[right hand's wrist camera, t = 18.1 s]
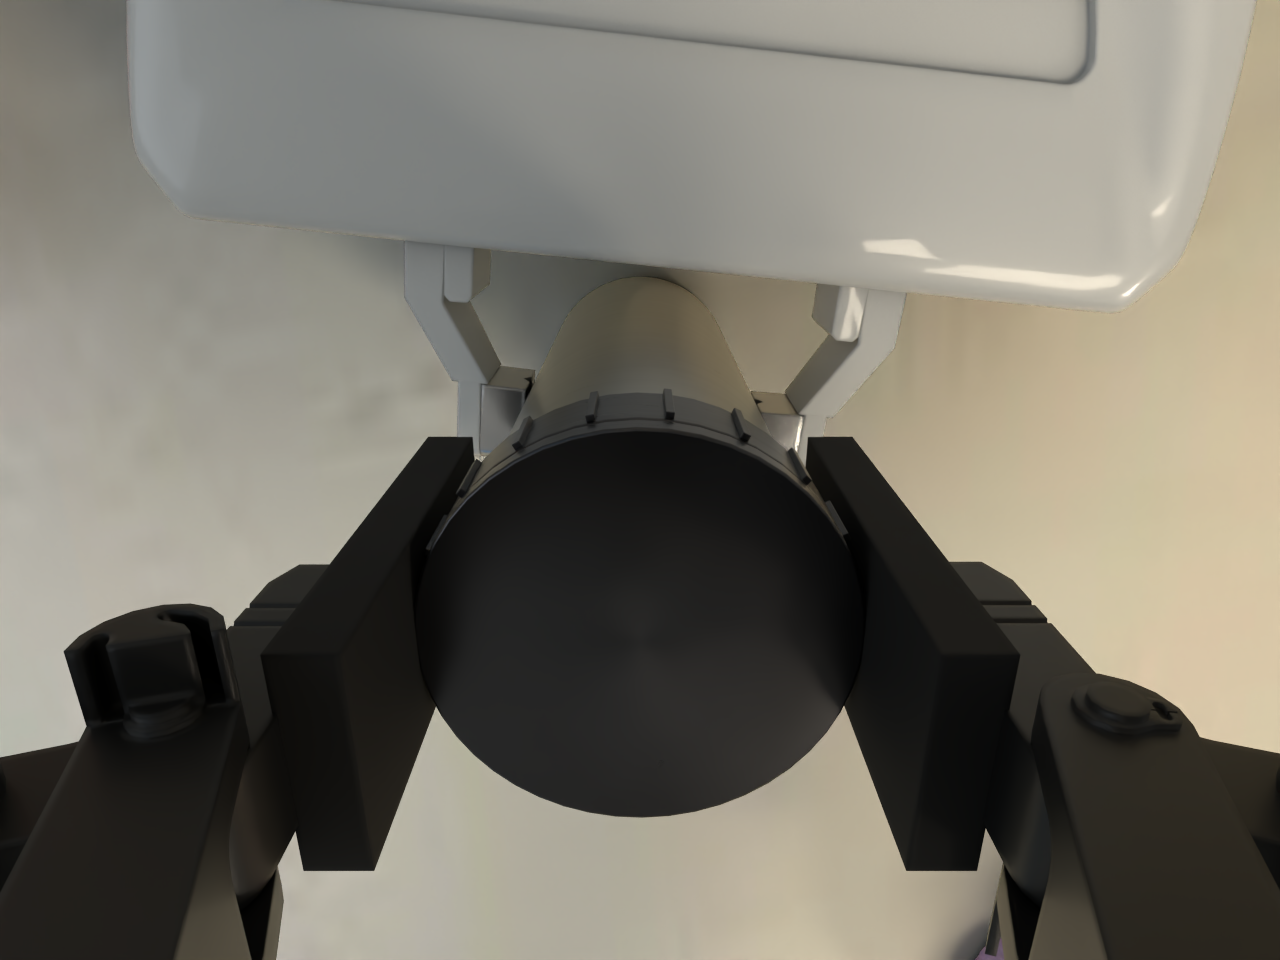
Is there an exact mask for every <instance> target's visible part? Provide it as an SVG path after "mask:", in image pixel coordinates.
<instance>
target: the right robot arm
mask: <svg viewBox="0 0 1280 960" xmlns="http://www.w3.org/2000/svg"><path fill="white" fill-rule="evenodd" d="M474 461H475V460H474V447H473V437H428V438H427V439H426V441H425V442H424V443H423V444H422V446H421V447H420V448H419V450H418V451H417V452H416V453H415V455H414V456H413V457H412V459H411V460H410V461H409V463H408V464H407V465H406V466H405V468H404V469H403V470H402V472H401V473H400V474H399V475H398V477H397V478H396V479H395V481H394V482H393V483H392V485H391V486H390V487H389V488H388V490H387V491H386V492H385V494H384V495H383V496H382V497H381V499H380V500H379V501H378V503H377V504H376V505H375V507H374V508H373V509H372V510H371V512H370V513H369V514H368V516H367V517H366V518H365V519H364V521H363V522H362V523H361V525H360V526H359V527H358V529H357V530H356V531H355V532H354V534H353V535H352V536H351V538H350V539H349V540H348V541H347V543H346V544H345V545H344V547H343V548H342V549H341V551H340V552H339V553H338V554H337V556H336V557H335V558H334V560H333V561H332V562H331V563H330V565H298V566H296V567H295V568H293V569H291V570H289V571H288V572H286V573H284V574H283V575H281V576H279V577H277V578H276V579H274V580H272V581H271V582H269V583H268V584H267V585H266V586H265V587H264V588H263V590H262V591H261V592H260V593H259V594H258V595H257V596H256V597H255V599H254V600H253V601H252V602H251V603H250V608H246V609H245V610H244V611H243V612H242V613H241V614H240V616H239V617H238V618H237V619H236V620H235V621H234V626H230V627H229V628H228V629H227V630H226V626H225V622H224V617H223V616H222V615H221V614H220V613H218V612H217V611H215V610H214V609H213V608H211V607H206V606H200V605H195V604H171V605H160V606H155V607H151V608H146V609H141V610H136V611H132V612H129V613H127V614H124V615H121V616H119V617H116V618H113V619H110V620H108V621H105V622H103V623H101V624H99V625H98V626H96V627H94V628H92V629H91V630H89V631H87V632H85V633H84V634H82V635H80V636H79V637H78V638H77V639H76V640H75V641H74V642H73V643H72V644H71V645H70V646H69V647H68V648H67V649H66V650H65V651H64V654H65V657H66V660H67V664H68V667H69V670H70V674H71V677H72V680H73V683H74V687H75V690H76V693H77V696H78V700H79V703H80V706H81V710H82V713H83V716H84V719H85V723H86V726H87V727H86V729H85V731H84V733H83V735H82V736H81V738H80V740H79V742H75V743H71V744H66V745H61V746H56V747H51V748H46V749H41V750H36V751H31V752H26V753H21V754H16V755H11V756H5V757H0V960H276V956H277V949H278V941H279V933H280V926H281V918H282V911H283V903H284V899H283V892H282V885H281V880H280V875H279V870H278V864H279V862H280V860H281V858H282V856H283V854H284V852H285V850H286V848H287V846H288V844H289V842H290V841H291V839H292V837H293V835H294V833H295V831H296V835H297V840H298V845H299V850H300V855H301V860H302V865H303V870H304V871H374V870H375V867H376V864H377V862H378V859H379V856H380V854H381V851H382V849H383V846H384V843H385V841H386V838H387V835H388V833H389V830H390V827H391V825H392V822H393V819H394V817H395V814H396V811H397V809H398V806H399V803H400V801H401V798H402V795H403V793H404V790H405V787H406V785H407V782H408V779H409V777H410V774H411V771H412V769H413V766H414V763H415V761H416V758H417V755H418V753H419V750H420V747H421V745H422V742H423V739H424V737H425V734H426V731H427V729H428V726H429V723H430V721H431V718H432V715H433V713H434V710H435V707H436V705H435V703H434V701H433V699H432V697H431V695H430V694H429V691H428V688H427V685H426V683H425V680H424V677H423V675H422V672H421V669H420V664H419V656H418V648H417V640H416V631H415V622H414V610H415V600H416V591H417V588H418V584H419V580H420V576H421V572H422V568H423V565H424V563H425V560H426V558H427V556H425V555H423V554H424V551H425V548H426V546H427V544H428V543H429V541H430V539H431V537H432V535H433V534H434V532H435V530H436V528H437V527H438V525H439V523H440V521H441V519H442V518H443V516H444V515H447V516H448V514H449V513H450V511H451V509H452V507H453V505H454V503H455V502H456V500H457V498H458V495H456V492H457V490H458V489H459V487H460V485H461V483H462V481H463V480H464V478H465V476H466V474H467V472H468V471H469V469H470V467H471V465H472V464H473V462H474ZM805 468H806V470H807V472H808V474H809V475H810V477H811V479H812V482H813V483H814V485H815V486H816V488H817V489H818V491H819V493H820V495H821V497H822V498H823V500H824V502H827V501H830V502H831V503H832V505H833V507H834V509H835V510H836V512H837V514H838V516H839V518H840V519H841V521H842V523H843V525H844V526H845V528H846V530H847V532H848V534H849V536H850V538H851V539H850V540H848V541H846V544H847V546H848V548H849V550H850V552H851V554H852V557H853V559H854V561H855V564H856V567H857V571H858V574H859V578H860V581H861V585H862V588H863V596H864V604H865V612H866V620H865V636H864V644H863V652H862V658H861V664H860V667H859V670H858V673H857V676H856V679H855V682H854V685H853V688H852V690H851V692H850V694H849V696H848V698H847V700H846V702H845V704H844V706H845V709H846V711H847V714H848V717H849V719H850V722H851V725H852V727H853V730H854V733H855V735H856V738H857V741H858V743H859V746H860V749H861V751H862V754H863V757H864V759H865V762H866V765H867V767H868V770H869V773H870V775H871V778H872V781H873V783H874V786H875V788H876V791H877V794H878V796H879V799H880V802H881V804H882V807H883V810H884V812H885V815H886V818H887V820H888V823H889V826H890V828H891V831H892V834H893V836H894V839H895V842H896V844H897V847H898V850H899V852H900V855H901V858H902V860H903V863H904V866H905V868H906V871H977V868H978V863H979V858H980V853H981V848H982V843H983V838H984V833H985V828H986V829H987V831H988V833H989V835H990V837H991V839H992V841H993V843H994V845H995V847H996V849H997V851H998V853H999V854H1000V856H1001V858H1002V860H1003V866H1002V870H1001V875H1000V880H999V884H998V889H997V893H996V898H995V903H994V907H993V912H992V917H991V921H990V926H989V930H988V935H987V941H986V948H985V954H987V955H991V956H995V957H996V955H997V951H998V946H999V942H1000V939H1002V947H1003V954H1004V960H1280V754H1279V753H1274V752H1269V751H1264V750H1259V749H1253V748H1248V747H1243V746H1238V745H1233V744H1228V743H1223V742H1218V741H1213V740H1209V739H1205V738H1201V737H1199V735H1198V733H1197V731H1196V729H1195V727H1194V725H1193V724H1192V723H1191V722H1190V721H1189V719H1188V718H1187V717H1186V716H1185V715H1184V714H1183V712H1182V711H1181V710H1180V709H1179V708H1178V707H1176V706H1175V705H1173V704H1172V703H1171V702H1169V701H1168V700H1166V699H1165V698H1163V697H1162V696H1160V695H1159V694H1157V693H1155V692H1153V691H1151V690H1148V689H1146V688H1144V687H1142V686H1139V685H1137V684H1135V683H1132V682H1130V681H1127V680H1123V679H1119V678H1115V677H1110V676H1106V675H1102V674H1096V673H1095V672H1094V671H1093V670H1092V668H1091V667H1090V666H1089V665H1088V664H1087V663H1086V662H1085V661H1084V659H1083V658H1082V657H1081V656H1080V655H1079V654H1078V653H1077V652H1076V650H1075V649H1074V648H1073V647H1072V646H1071V645H1070V644H1069V643H1068V641H1067V640H1066V639H1065V638H1064V637H1063V636H1062V635H1061V634H1060V633H1059V631H1058V630H1057V629H1056V628H1055V627H1054V626H1053V625H1052V624H1051V623H1047V618H1046V617H1045V616H1044V615H1043V613H1042V612H1041V611H1040V610H1039V609H1038V608H1037V607H1036V606H1035V605H1032V604H1031V600H1030V599H1029V598H1028V597H1027V596H1026V594H1025V593H1024V592H1023V591H1022V590H1021V589H1020V588H1019V587H1018V585H1017V584H1016V583H1015V582H1014V581H1013V580H1012V579H1010V578H1008V577H1007V576H1005V575H1003V574H1001V573H1000V572H998V571H996V570H995V569H993V568H991V567H989V566H988V565H986V564H984V563H982V562H949V561H948V560H947V559H946V558H945V556H944V555H943V554H942V552H941V551H940V550H939V548H938V547H937V546H936V545H935V543H934V542H933V541H932V539H931V538H930V537H929V536H928V534H927V533H926V532H925V530H924V529H923V528H922V526H921V525H920V524H919V523H918V521H917V520H916V519H915V517H914V516H913V515H912V514H911V512H910V511H909V510H908V508H907V507H906V506H905V505H904V503H903V502H902V501H901V499H900V498H899V497H898V495H897V494H896V493H895V492H894V490H893V489H892V488H891V486H890V485H889V484H888V483H887V481H886V480H885V479H884V477H883V476H882V475H881V473H880V472H879V471H878V470H877V468H876V467H875V466H874V464H873V463H872V462H871V461H870V459H869V458H868V457H867V455H866V454H865V453H864V451H863V450H862V449H861V448H860V446H859V445H858V444H857V442H856V441H855V440H854V439H853V437H808V442H807V454H806V467H805Z"/></svg>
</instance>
